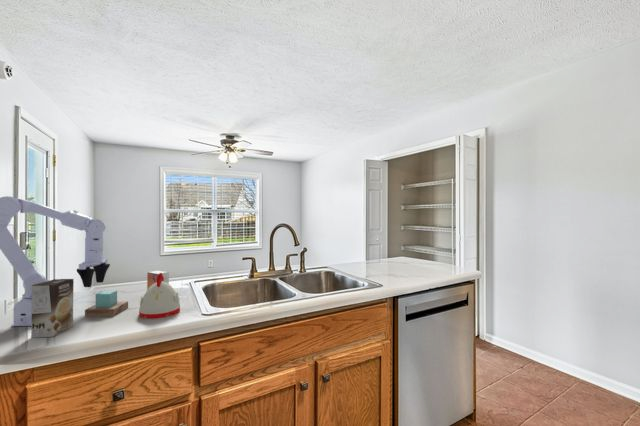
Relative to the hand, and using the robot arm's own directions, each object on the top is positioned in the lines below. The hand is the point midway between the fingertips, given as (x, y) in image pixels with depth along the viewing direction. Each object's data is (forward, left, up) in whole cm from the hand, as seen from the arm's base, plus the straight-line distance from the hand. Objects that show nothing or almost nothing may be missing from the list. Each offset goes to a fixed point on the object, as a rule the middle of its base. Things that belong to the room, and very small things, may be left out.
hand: (93, 284), depth 121 cm
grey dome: (-5, -27, -10) cm, 29 cm away
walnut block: (-3, -7, -10) cm, 13 cm away
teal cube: (-3, -6, -7) cm, 10 cm away
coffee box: (-22, -1, -10) cm, 24 cm away
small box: (+21, -16, -10) cm, 28 cm away
